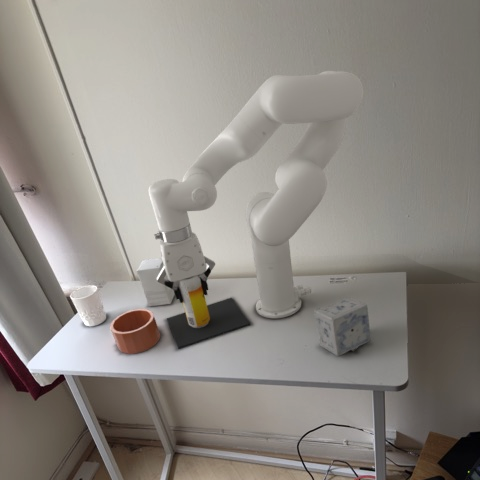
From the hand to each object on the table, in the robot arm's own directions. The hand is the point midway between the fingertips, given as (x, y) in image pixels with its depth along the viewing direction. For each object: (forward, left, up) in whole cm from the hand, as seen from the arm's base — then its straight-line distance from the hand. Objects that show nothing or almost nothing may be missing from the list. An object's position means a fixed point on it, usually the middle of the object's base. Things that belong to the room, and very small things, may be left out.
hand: (192, 296), depth 111 cm
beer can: (0, 0, -9) cm, 9 cm away
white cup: (+28, -21, -9) cm, 36 cm away
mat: (-2, 0, -9) cm, 9 cm away
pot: (+17, -2, -9) cm, 19 cm away
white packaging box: (+7, -21, -9) cm, 24 cm away
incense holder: (-28, +28, -9) cm, 41 cm away
